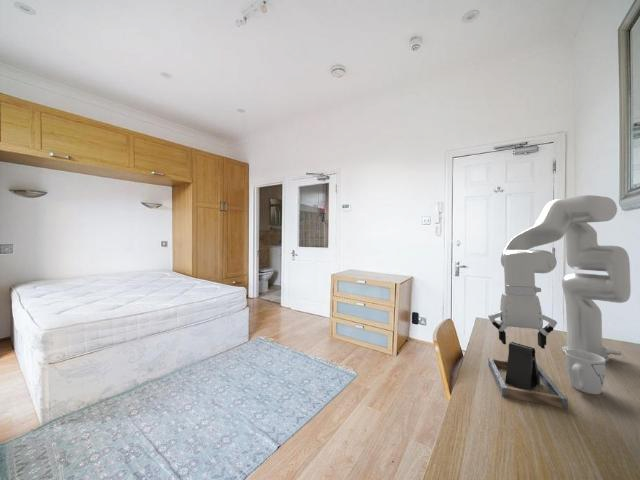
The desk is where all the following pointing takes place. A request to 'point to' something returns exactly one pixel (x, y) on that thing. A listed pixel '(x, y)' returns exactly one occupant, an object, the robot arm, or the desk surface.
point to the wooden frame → (548, 399)
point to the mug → (585, 370)
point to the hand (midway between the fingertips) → (521, 344)
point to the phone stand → (522, 367)
